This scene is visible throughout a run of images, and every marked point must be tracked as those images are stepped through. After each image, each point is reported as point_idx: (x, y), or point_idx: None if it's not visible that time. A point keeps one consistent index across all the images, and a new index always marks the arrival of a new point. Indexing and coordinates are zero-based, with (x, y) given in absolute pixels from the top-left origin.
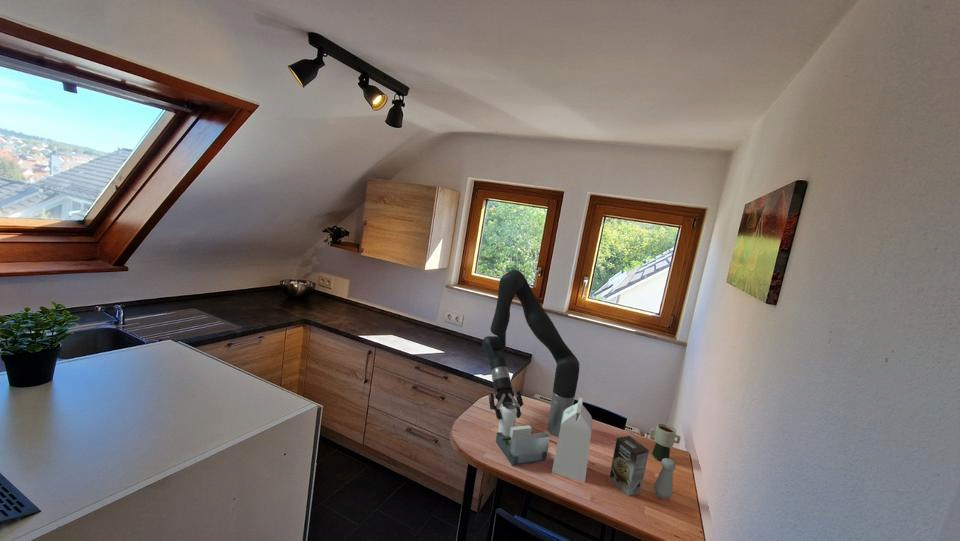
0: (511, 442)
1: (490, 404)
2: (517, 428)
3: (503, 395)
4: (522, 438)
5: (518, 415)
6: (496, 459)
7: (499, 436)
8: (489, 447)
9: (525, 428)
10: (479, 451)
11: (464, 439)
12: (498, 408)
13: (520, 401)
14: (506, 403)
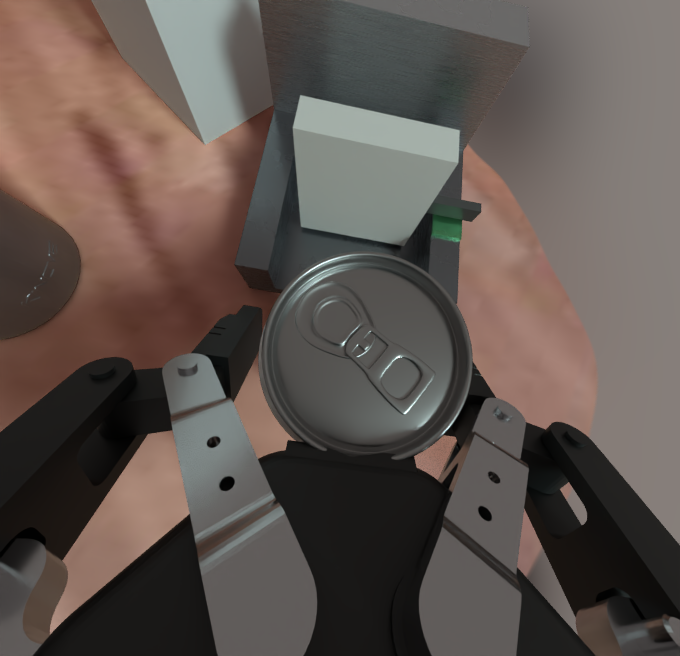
0: (496, 96)
1: (574, 523)
2: (416, 132)
3: (478, 610)
4: (471, 5)
5: (257, 318)
6: (482, 215)
7: (458, 266)
8: (478, 291)
9: (353, 110)
10: (531, 283)
11: (571, 388)
12: (492, 401)
13: (89, 407)
14: (370, 436)
